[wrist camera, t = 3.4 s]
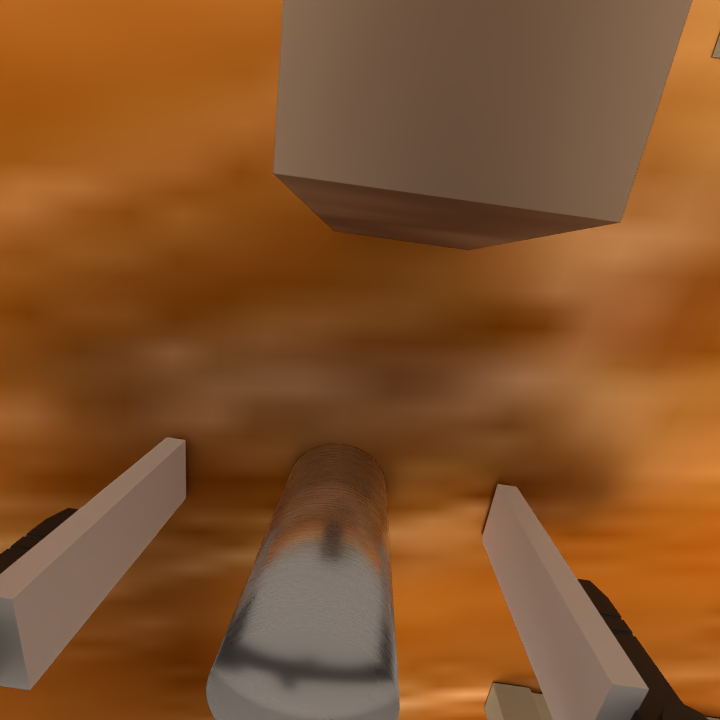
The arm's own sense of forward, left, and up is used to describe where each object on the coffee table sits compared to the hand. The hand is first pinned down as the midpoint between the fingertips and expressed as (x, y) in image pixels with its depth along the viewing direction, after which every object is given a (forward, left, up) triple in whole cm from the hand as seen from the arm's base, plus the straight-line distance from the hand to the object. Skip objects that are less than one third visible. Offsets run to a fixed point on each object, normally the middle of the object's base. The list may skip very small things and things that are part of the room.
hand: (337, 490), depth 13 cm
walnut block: (+1, +12, 0) cm, 12 cm away
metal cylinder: (0, 0, 0) cm, 0 cm away
